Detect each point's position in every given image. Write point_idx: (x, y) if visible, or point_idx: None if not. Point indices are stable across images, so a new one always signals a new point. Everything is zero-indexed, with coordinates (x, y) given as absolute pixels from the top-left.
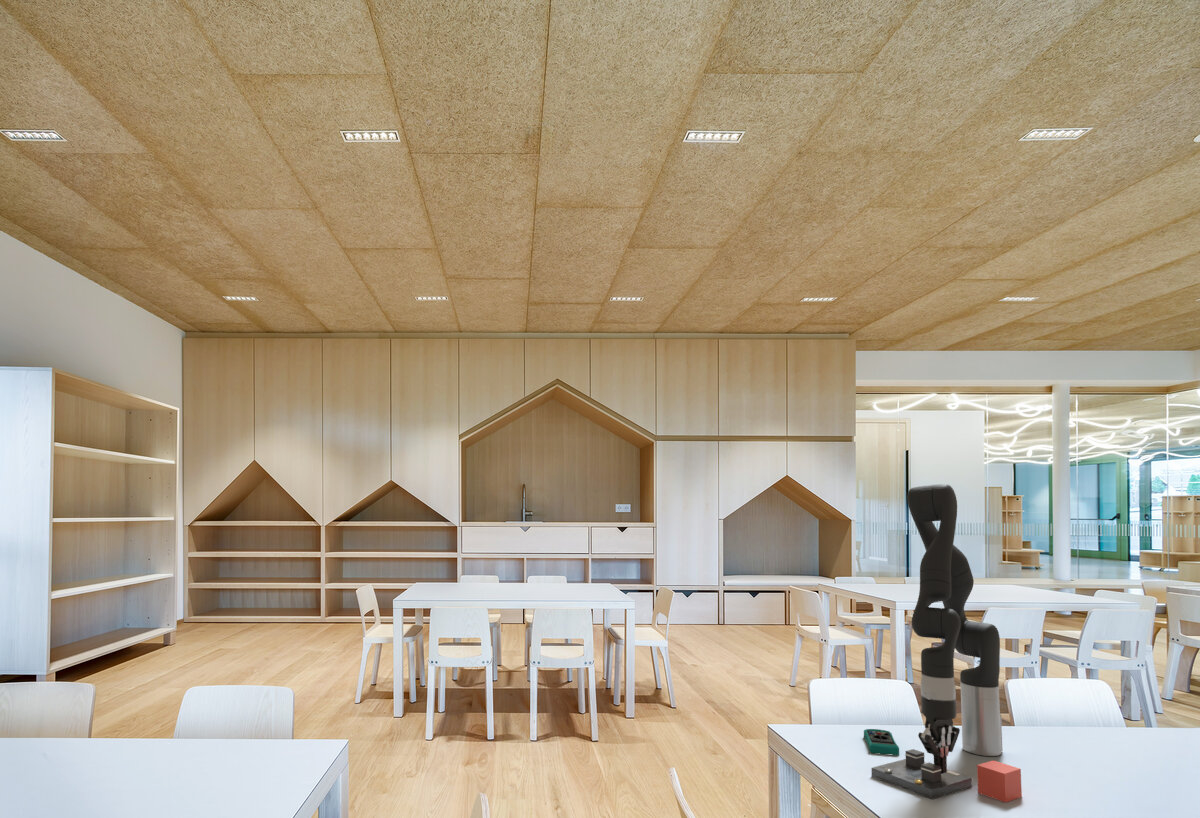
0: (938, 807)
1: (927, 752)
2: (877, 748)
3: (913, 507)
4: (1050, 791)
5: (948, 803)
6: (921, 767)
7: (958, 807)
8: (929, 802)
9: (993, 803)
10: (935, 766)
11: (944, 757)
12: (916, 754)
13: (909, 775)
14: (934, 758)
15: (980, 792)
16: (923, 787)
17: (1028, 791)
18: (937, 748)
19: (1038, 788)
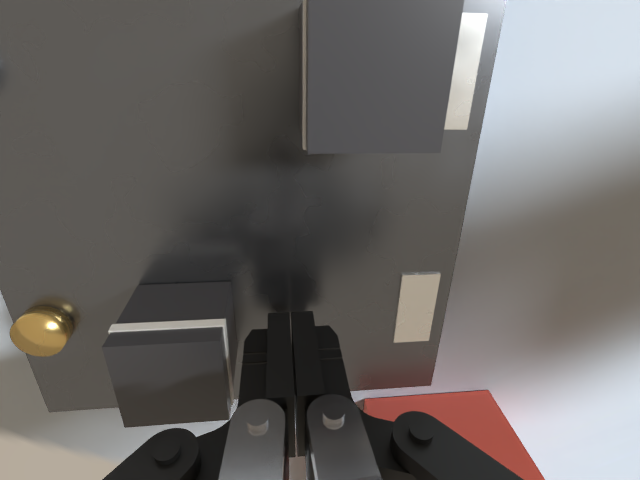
0: (28, 431)
1: (152, 439)
2: None
3: None
4: (603, 471)
5: (117, 421)
6: (112, 332)
7: (125, 456)
8: (28, 387)
9: (305, 472)
10: (185, 409)
11: (298, 453)
12: (313, 150)
13: (97, 208)
14: (239, 400)
15: (364, 412)
16: (34, 367)
17: (546, 450)
18: (313, 455)
19: (608, 446)
